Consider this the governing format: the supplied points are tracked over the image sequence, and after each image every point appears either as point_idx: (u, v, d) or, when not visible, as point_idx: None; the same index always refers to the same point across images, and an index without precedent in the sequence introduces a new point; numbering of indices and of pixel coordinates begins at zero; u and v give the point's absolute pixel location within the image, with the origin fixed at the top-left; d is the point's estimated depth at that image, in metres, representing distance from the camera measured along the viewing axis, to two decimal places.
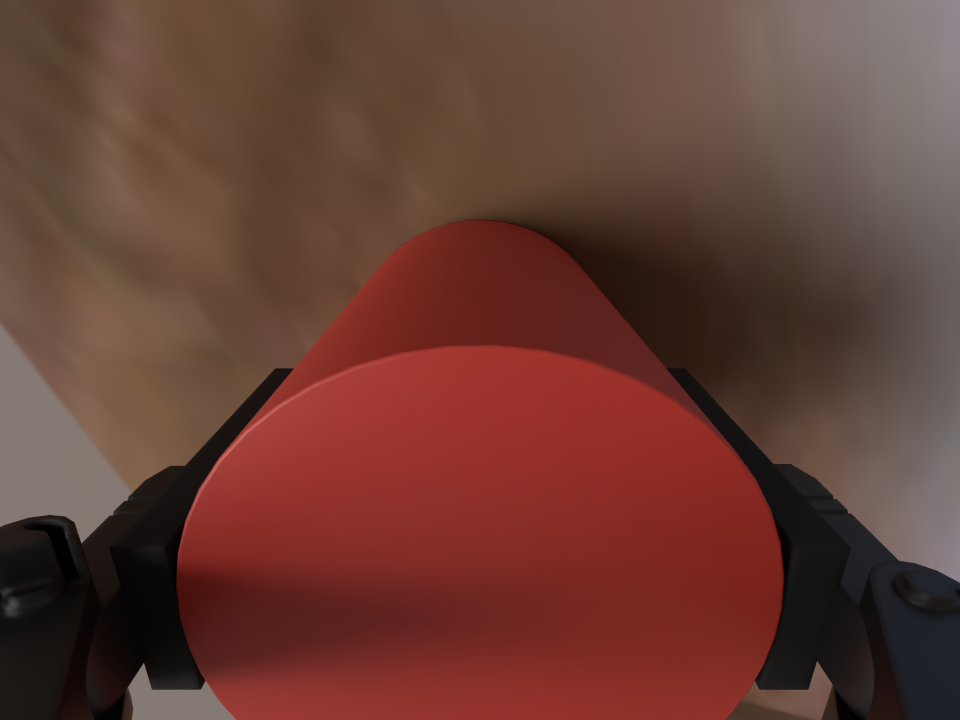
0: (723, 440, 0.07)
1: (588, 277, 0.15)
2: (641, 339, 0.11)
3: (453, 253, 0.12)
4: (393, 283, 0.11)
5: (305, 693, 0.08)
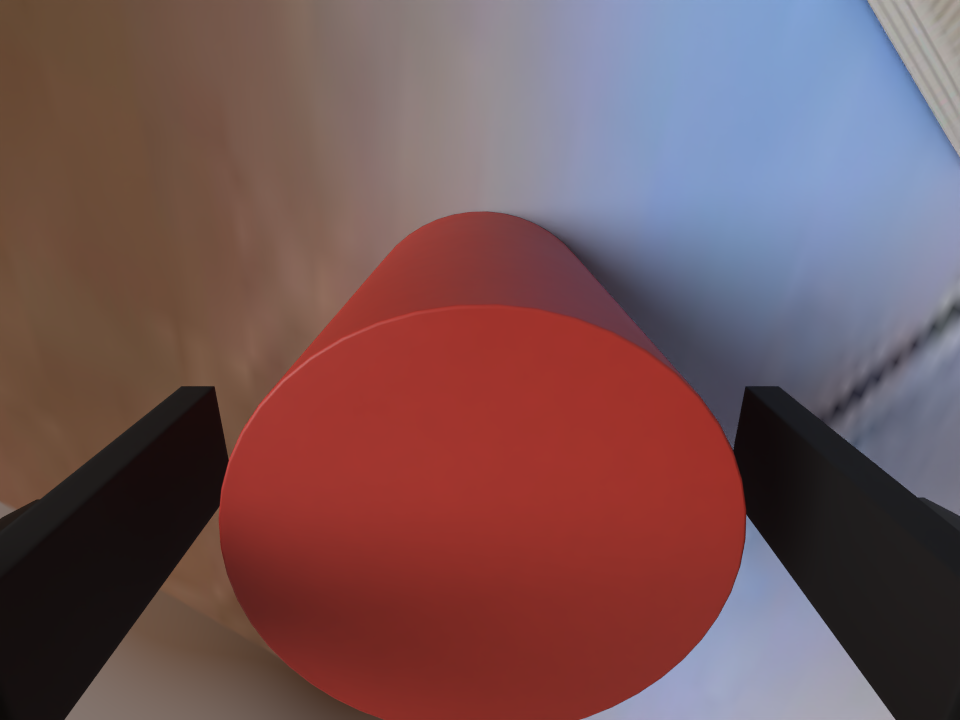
0: (690, 388, 0.08)
1: None
2: (627, 314, 0.12)
3: (457, 238, 0.13)
4: (403, 263, 0.12)
5: (328, 618, 0.10)
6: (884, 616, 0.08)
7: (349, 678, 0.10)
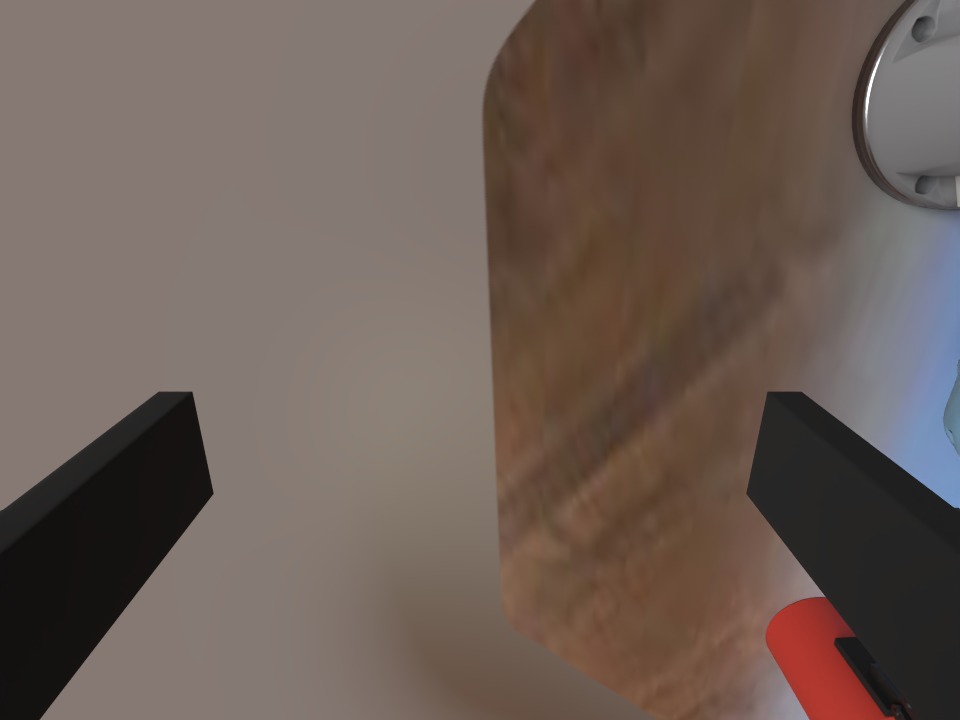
0: None
1: None
2: None
3: None
4: (848, 666, 0.46)
5: None
6: (923, 632, 0.08)
7: None
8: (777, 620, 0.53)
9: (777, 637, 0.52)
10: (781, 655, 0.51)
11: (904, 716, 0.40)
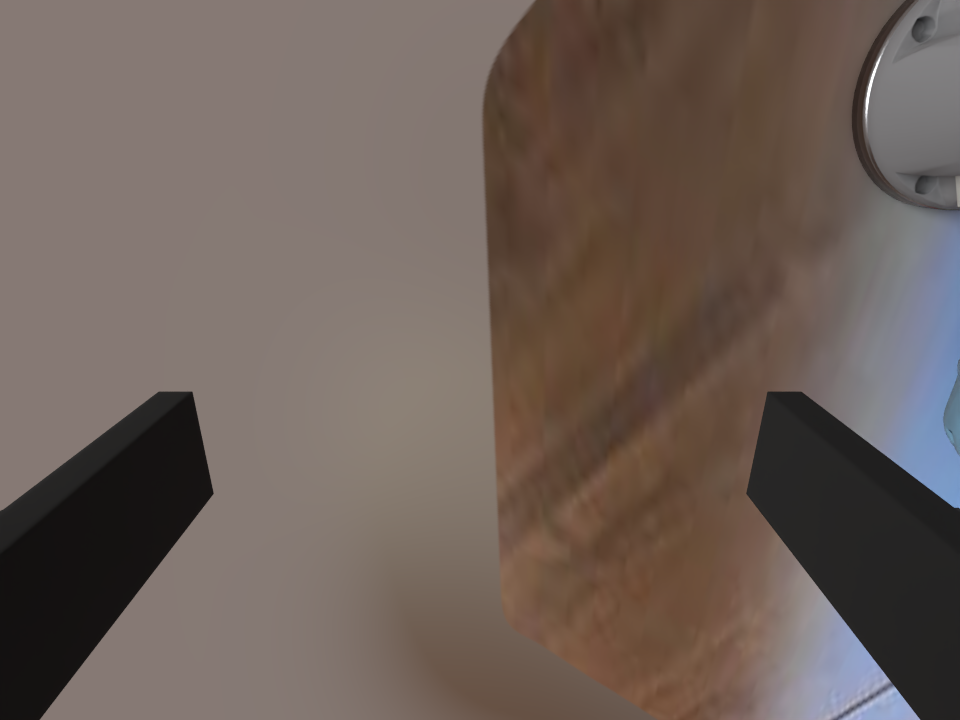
0: None
1: None
2: None
3: None
4: None
5: None
6: (923, 632, 0.08)
7: None
8: None
9: None
10: None
11: None
